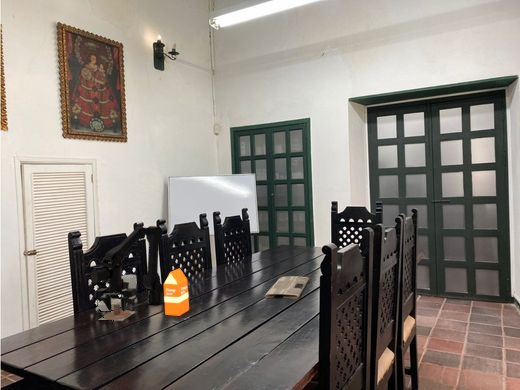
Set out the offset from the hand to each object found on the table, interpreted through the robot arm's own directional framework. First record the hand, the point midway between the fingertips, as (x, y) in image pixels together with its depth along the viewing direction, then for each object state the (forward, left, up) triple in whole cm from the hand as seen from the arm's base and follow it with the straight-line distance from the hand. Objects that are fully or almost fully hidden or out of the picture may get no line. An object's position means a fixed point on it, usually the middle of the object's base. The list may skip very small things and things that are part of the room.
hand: (117, 311), depth 183 cm
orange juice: (-27, -7, -3) cm, 28 cm away
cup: (+10, -28, -3) cm, 30 cm away
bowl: (+11, -10, -2) cm, 15 cm away
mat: (0, 0, -2) cm, 2 cm away
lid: (0, 0, -2) cm, 2 cm away
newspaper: (-74, -48, -3) cm, 88 cm away
